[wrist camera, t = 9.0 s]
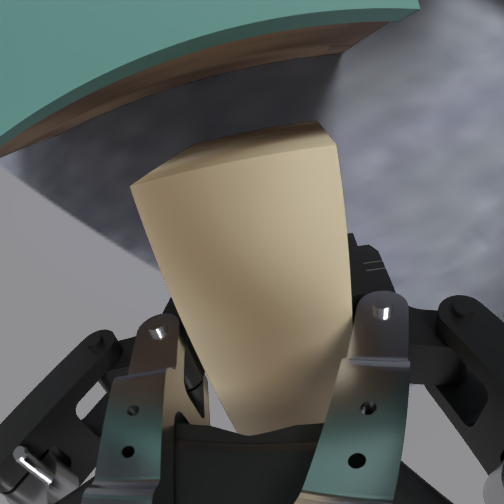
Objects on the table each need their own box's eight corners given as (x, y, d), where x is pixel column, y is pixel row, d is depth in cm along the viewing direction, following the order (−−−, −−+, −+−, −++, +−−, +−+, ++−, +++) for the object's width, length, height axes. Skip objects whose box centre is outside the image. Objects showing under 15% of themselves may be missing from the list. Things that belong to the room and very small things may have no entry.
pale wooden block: (316, 120, 9) (336, 145, 5) (343, 354, 14) (350, 440, 10) (193, 144, 10) (129, 186, 6) (257, 362, 14) (244, 445, 10)
